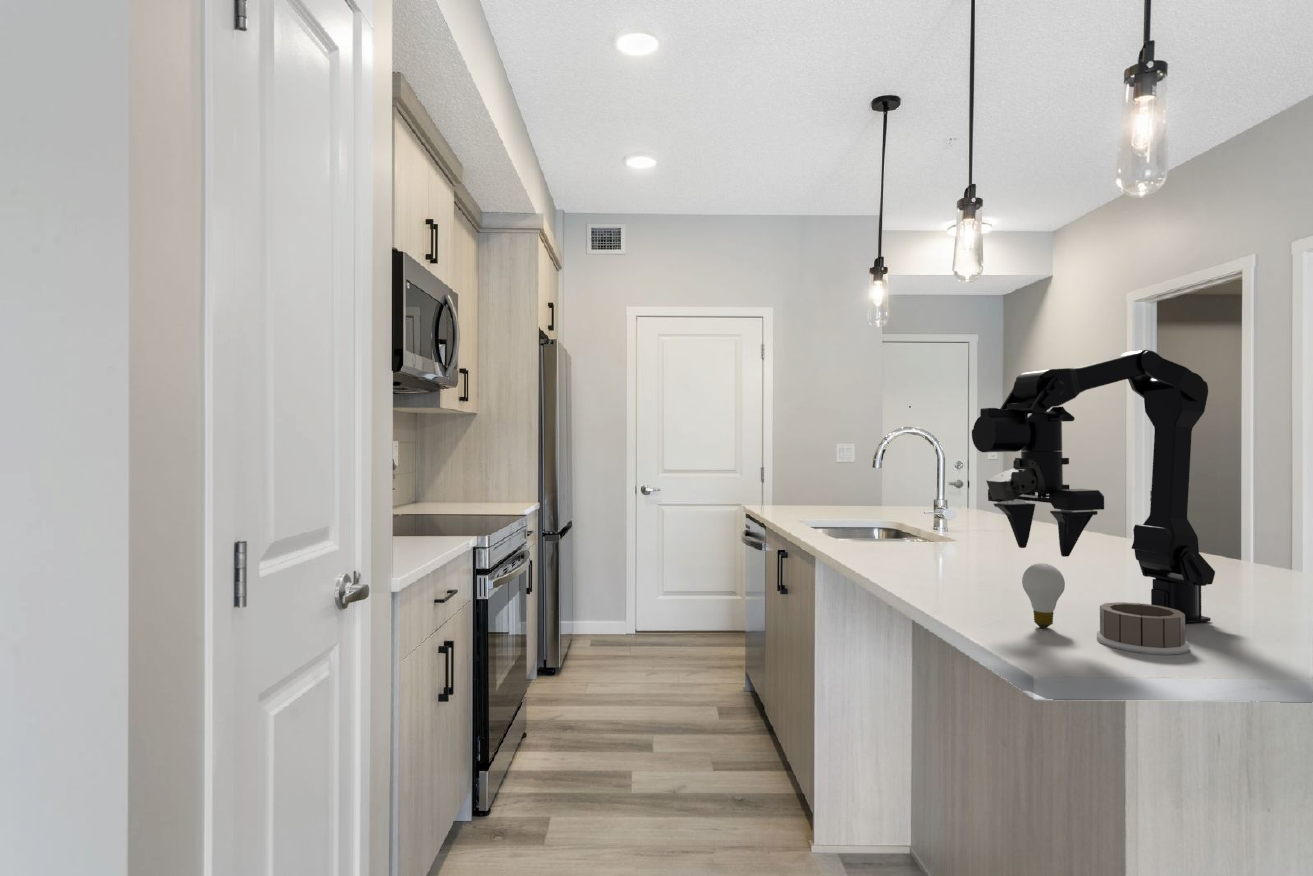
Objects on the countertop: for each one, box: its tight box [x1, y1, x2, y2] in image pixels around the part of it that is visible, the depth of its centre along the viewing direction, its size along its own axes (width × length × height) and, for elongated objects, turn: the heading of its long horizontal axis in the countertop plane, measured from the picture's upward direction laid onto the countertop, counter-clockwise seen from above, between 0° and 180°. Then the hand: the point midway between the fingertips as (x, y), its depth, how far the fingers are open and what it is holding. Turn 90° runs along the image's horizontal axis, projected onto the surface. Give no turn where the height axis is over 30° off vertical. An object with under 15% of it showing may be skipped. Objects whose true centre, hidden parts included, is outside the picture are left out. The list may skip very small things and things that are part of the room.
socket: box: [1096, 601, 1190, 656], centre depth 106 cm, size 11×11×5 cm
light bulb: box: [1021, 562, 1066, 629], centre depth 116 cm, size 6×6×10 cm
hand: (1043, 551), depth 116 cm, fingers open, 9 cm apart
